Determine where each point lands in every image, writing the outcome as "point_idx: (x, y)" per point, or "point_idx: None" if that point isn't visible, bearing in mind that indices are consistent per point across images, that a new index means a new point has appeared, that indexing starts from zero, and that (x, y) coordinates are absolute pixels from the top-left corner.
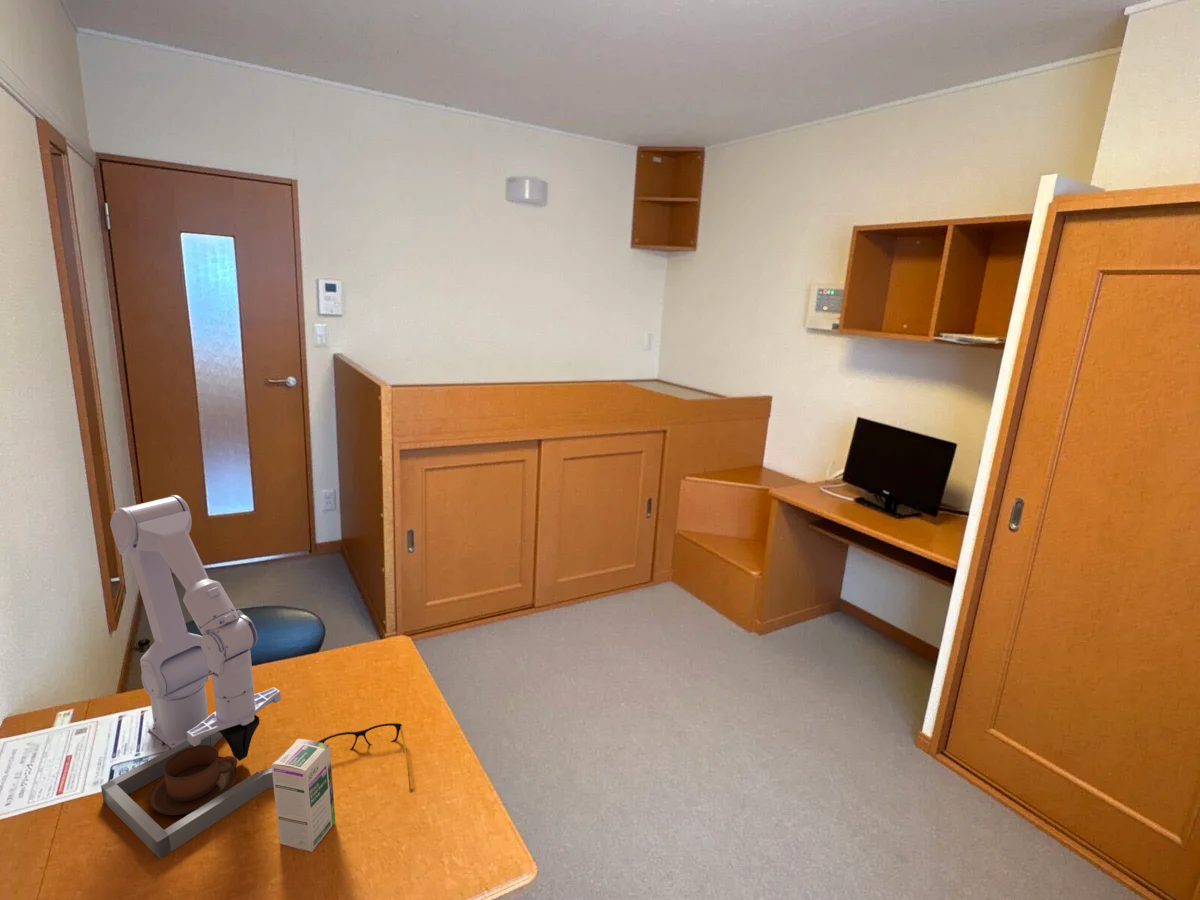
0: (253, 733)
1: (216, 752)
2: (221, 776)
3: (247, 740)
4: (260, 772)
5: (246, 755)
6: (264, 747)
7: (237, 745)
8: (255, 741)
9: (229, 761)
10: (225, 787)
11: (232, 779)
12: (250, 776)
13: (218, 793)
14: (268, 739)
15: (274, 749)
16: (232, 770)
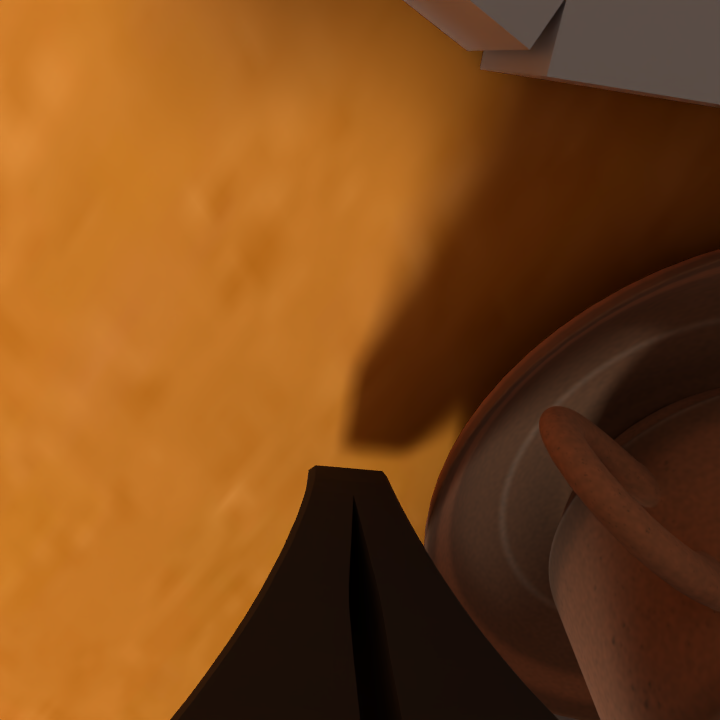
0: (218, 669)
1: (693, 708)
2: (528, 456)
3: (317, 615)
4: (551, 14)
5: (322, 474)
6: (120, 459)
7: (465, 633)
8: (129, 556)
9: (434, 525)
10: (633, 326)
11: (573, 340)
12: (672, 81)
13: (699, 320)
14: (47, 504)
15: (75, 375)
16: (481, 432)
